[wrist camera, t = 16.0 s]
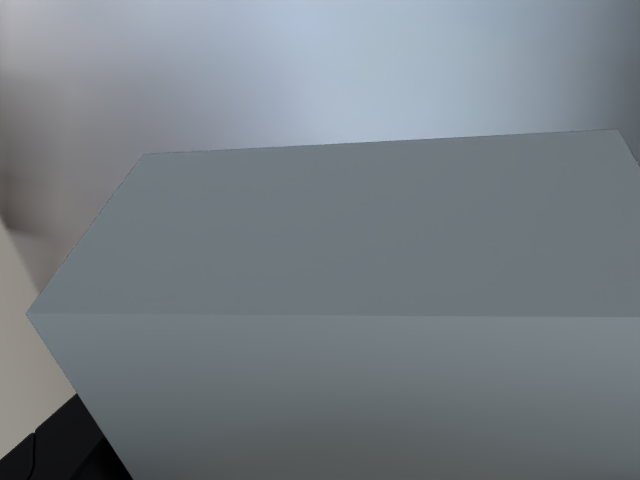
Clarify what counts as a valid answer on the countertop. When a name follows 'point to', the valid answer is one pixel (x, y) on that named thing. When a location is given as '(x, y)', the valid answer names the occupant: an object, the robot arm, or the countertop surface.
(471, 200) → the cover
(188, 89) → the countertop surface
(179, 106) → the countertop surface
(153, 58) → the countertop surface
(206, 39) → the countertop surface
